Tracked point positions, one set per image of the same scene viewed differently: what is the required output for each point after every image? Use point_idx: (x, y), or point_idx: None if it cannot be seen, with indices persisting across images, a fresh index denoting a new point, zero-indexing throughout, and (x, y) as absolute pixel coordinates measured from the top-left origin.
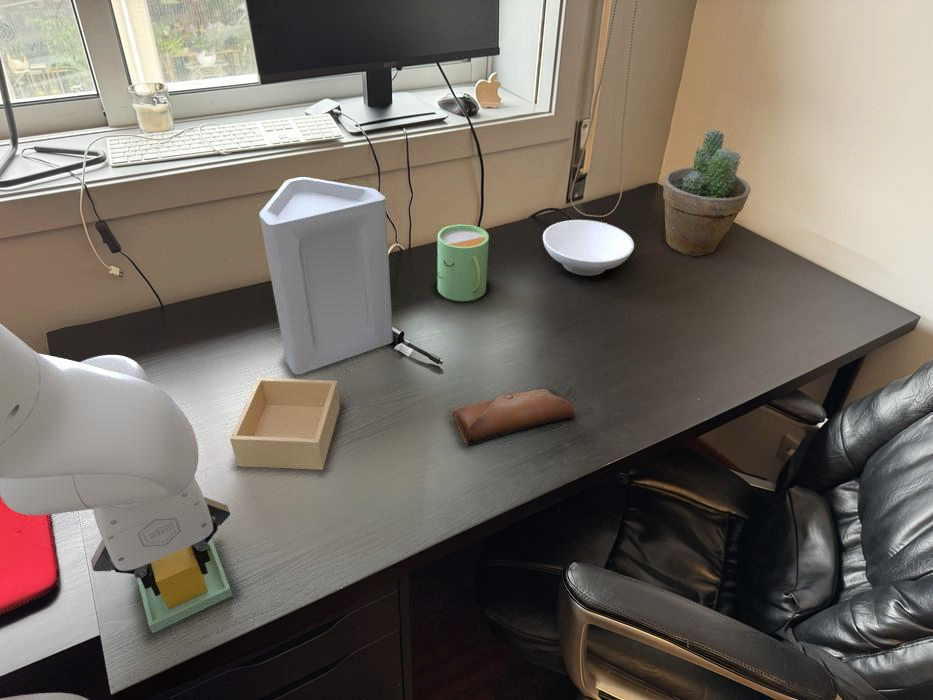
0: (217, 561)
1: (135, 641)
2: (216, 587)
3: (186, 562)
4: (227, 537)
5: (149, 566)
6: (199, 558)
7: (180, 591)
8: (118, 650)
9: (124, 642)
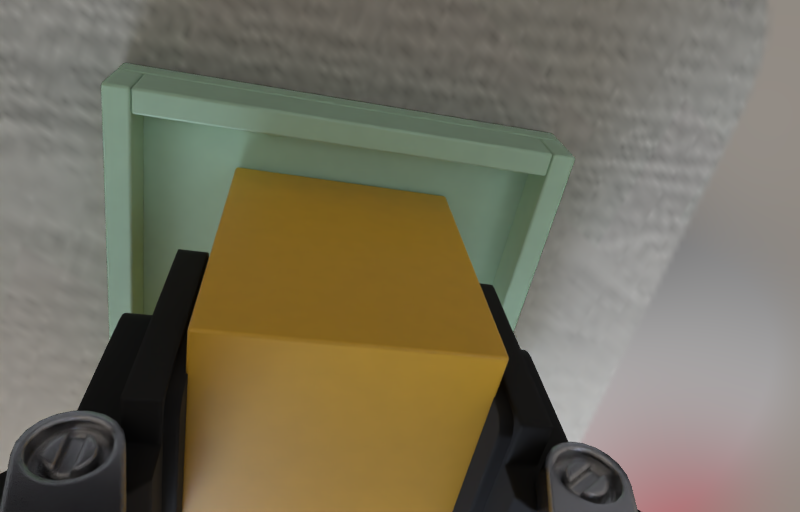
0: (121, 295)
1: (624, 146)
2: (187, 163)
3: (262, 385)
4: (54, 387)
5: (491, 484)
6: (158, 365)
7: (370, 233)
8: (695, 152)
9: (657, 173)
